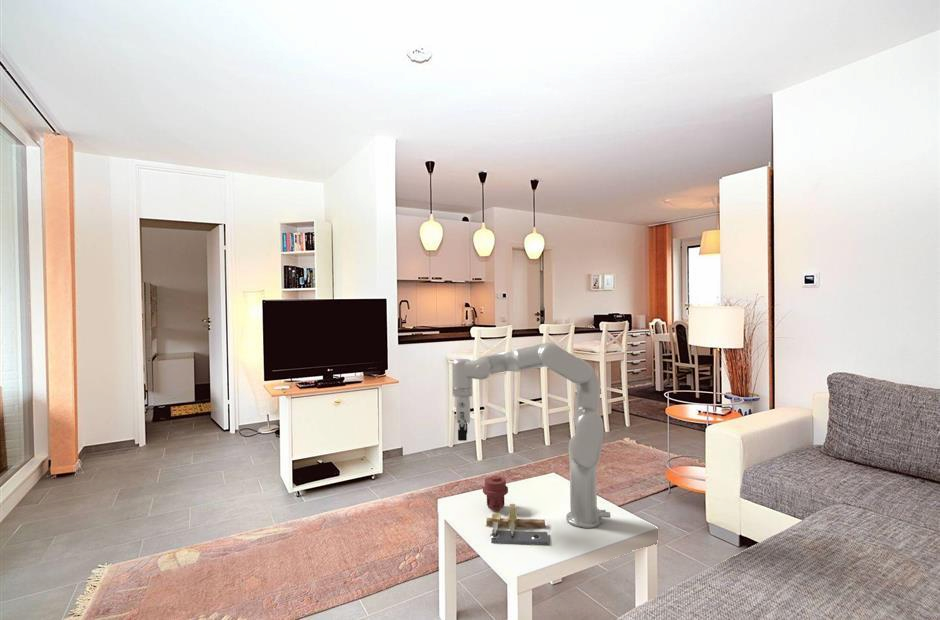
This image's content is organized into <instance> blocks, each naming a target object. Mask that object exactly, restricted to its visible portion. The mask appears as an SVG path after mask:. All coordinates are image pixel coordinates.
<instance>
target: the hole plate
mask: <svg viewBox="0 0 940 620" xmlns="http://www.w3.org/2000/svg"><path fill="white" fill-rule="evenodd" d="M489 537H491V540H490V541H491V544H508V545H509V544H515V545H535V546H536V545H537V546H538V545H539V546H550V545H549V535H548V531H532V530H531V531H527V530H526V531H525V530H515V533H514V535H513V536H511V533H510V530H503V529H502V530H501V529H500V530H499V529H497V533H496V536H495V535H493V529H492V532H491V533H490V534H489Z"/></svg>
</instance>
